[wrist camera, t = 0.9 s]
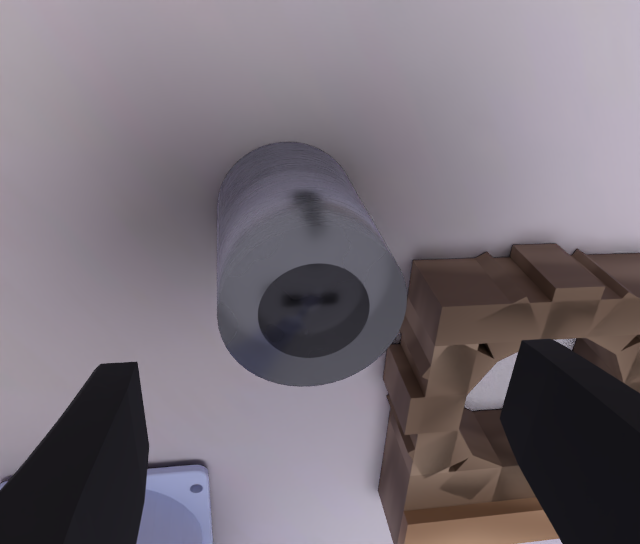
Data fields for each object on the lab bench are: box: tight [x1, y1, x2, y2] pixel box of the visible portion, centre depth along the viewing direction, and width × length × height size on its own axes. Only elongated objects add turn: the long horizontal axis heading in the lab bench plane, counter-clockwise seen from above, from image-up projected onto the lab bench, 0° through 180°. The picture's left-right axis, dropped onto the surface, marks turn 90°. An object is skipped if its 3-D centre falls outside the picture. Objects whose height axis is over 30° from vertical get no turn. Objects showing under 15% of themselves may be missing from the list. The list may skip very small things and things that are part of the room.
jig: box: [378, 244, 640, 544], centre depth 22 cm, size 12×10×4 cm
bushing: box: [217, 142, 407, 386], centre depth 15 cm, size 4×4×6 cm
